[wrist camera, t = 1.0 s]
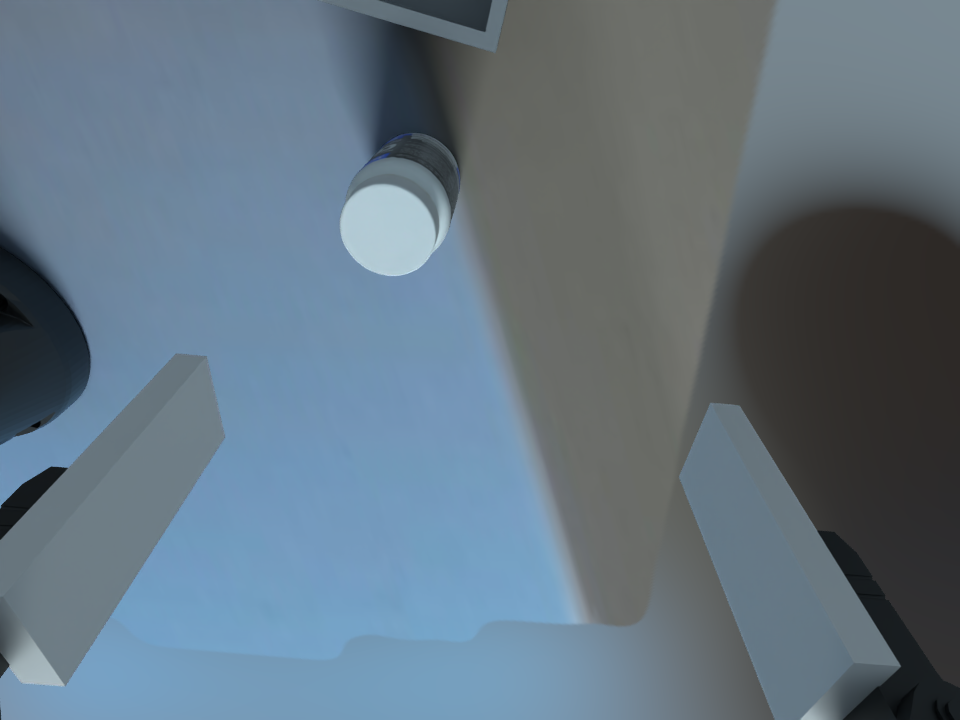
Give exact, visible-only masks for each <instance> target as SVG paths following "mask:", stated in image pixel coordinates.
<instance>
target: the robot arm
mask: <svg viewBox="0 0 960 720" xmlns="http://www.w3.org/2000/svg"><path fill="white" fill-rule="evenodd" d="M89 373H90V360H89V354H88V349H87V346H86V343H85V340H84V337H83V335H82V332H81V330H80V328H79V326H78V324H77V323H76V321H75V319H74V317H73V316H72V314H71V313H70V311H69V310H68V308H67V307H66V306H65V304H64V303H63V302H62V300H61V299H60V298H59V297H58V296H57V294H56V293H55V292H54V291H53V290H52V289H51V288H50V287H49V286H48V285H47V284H46V283H45V282H44V281H43V280H42V279H41V278H40V277H39V276H38V275H37V274H36V273H35V272H33V271H32V270H31V269H30V268H29V267H27V266H26V265H25V264H24V263H22V262H21V261H20V260H18V259H17V258H16V257H14V256H13V255H11V254H10V253H8V252H7V251H5V250H4V249H2V248H0V445H1V444H3V443H5V442H6V441H8V440H10V439H12V438H13V437H15V436H20V435H24V434H27V433H30V432H33V431H35V430H37V429H39V428H41V427H44V426H45V425H47V424H48V423H50V422H52V421H53V420H54V419H56V418H57V417H58V416H59V415H60V414H61V413H63V412H64V411H65V410H66V409H67V408H68V407H69V406H70V405H72V404H73V403H74V402H75V401H76V400H77V399H78V398H79V397H80V395H81V394H82V393H83V391H84V389H85V387H86V385H87V382H88V379H89ZM224 438H225V434H224V430H223V426H222V421H221V417H220V412H219V408H218V404H217V399H216V395H215V391H214V386H213V382H212V378H211V373H210V369H209V365H208V360H207V356H197V355H187V354H175V355H174V356H173V358H172V359H171V360H170V361H169V362H168V363H167V364H166V365H165V366H164V367H163V368H162V369H161V370H160V371H159V372H158V373H157V375H156V376H155V377H154V378H153V379H152V380H151V381H150V382H149V383H148V384H147V385H146V386H145V387H144V388H143V389H142V390H141V391H140V393H139V394H138V395H137V396H136V397H135V398H134V399H133V400H132V401H131V402H130V403H129V404H128V405H127V406H126V407H125V408H124V410H123V411H122V412H121V413H120V414H119V415H118V416H117V417H116V418H115V419H114V420H113V421H112V422H111V423H110V424H109V425H108V426H107V428H106V429H105V430H104V431H103V432H102V433H101V434H100V435H99V436H98V437H97V438H96V439H95V440H94V441H93V442H92V443H91V445H90V446H89V447H88V448H87V449H86V450H85V451H84V452H83V453H82V454H81V455H80V456H79V457H78V458H77V459H76V460H75V461H74V463H73V464H72V465H71V466H70V467H69V468H62V467H50V468H48V469H46V470H45V471H43V472H42V473H40V474H38V475H37V476H35V477H33V478H32V479H30V480H29V481H27V482H25V483H24V484H22V485H21V486H20V487H19V488H18V489H17V490H16V491H15V492H14V493H13V494H12V495H11V496H10V497H9V498H8V499H7V500H6V501H5V502H4V503H3V504H2V505H1V509H0V678H1V676H2V675H3V674H4V672H5V671H6V670H7V668H8V667H9V668H10V669H11V670H12V671H13V673H14V674H15V675H16V677H17V678H18V679H19V680H20V682H21V683H27V684H40V685H53V686H66V685H67V683H68V682H69V680H70V678H71V677H72V675H73V673H74V672H75V670H76V669H77V668H78V666H79V664H80V663H81V661H82V660H83V658H84V657H85V655H86V653H87V652H88V650H89V649H90V647H91V646H92V644H93V643H94V641H95V639H96V638H97V636H98V635H99V633H100V632H101V630H102V629H103V627H104V625H105V624H106V622H107V621H108V619H109V618H110V616H111V614H112V613H113V611H114V610H115V608H116V607H117V605H118V604H119V602H120V600H121V599H122V597H123V596H124V594H125V593H126V591H127V590H128V588H129V586H130V585H131V583H132V582H133V580H134V579H135V577H136V575H137V574H138V572H139V571H140V569H141V568H142V566H143V565H144V563H145V561H146V560H147V558H148V557H149V555H150V554H151V552H152V551H153V549H154V547H155V546H156V544H157V543H158V541H159V540H160V538H161V536H162V535H163V533H164V532H165V530H166V529H167V527H168V526H169V524H170V522H171V521H172V519H173V518H174V516H175V515H176V513H177V512H178V510H179V508H180V507H181V505H182V504H183V502H184V501H185V499H186V497H187V496H188V494H189V493H190V491H191V490H192V488H193V487H194V485H195V483H196V482H197V480H198V479H199V477H200V476H201V474H202V473H203V471H204V469H205V468H206V466H207V465H208V463H209V462H210V460H211V458H212V457H213V455H214V454H215V452H216V451H217V449H218V448H219V446H220V444H221V443H222V441H223V440H224ZM679 478H680V481H681V483H682V486H683V488H684V490H685V493H686V496H687V498H688V501H689V503H690V506H691V509H692V511H693V513H694V516H695V519H696V521H697V524H698V526H699V529H700V531H701V534H702V537H703V539H704V542H705V544H706V547H707V549H708V552H709V554H710V557H711V559H712V562H713V564H714V567H715V569H716V572H717V575H718V577H719V580H720V582H721V585H722V587H723V590H724V592H725V595H726V597H727V600H728V602H729V605H730V608H731V610H732V613H733V615H734V617H735V620H736V623H737V625H738V628H739V630H740V633H741V635H742V638H743V641H744V643H745V645H746V648H747V650H748V653H749V656H750V658H751V660H752V663H753V666H754V668H755V671H756V673H757V676H758V679H759V681H760V684H761V686H762V689H763V691H764V694H765V696H766V698H767V701H768V704H769V706H770V709H771V711H772V714H773V717H774V719H775V720H960V688H958V687H956V686H954V685H952V684H950V683H948V682H945V681H943V680H942V679H941V677H940V676H939V675H938V673H937V672H936V671H935V669H934V668H933V666H932V665H931V663H930V662H929V660H928V659H927V657H926V656H925V654H924V653H923V651H922V650H921V648H920V647H919V645H918V644H917V642H916V641H915V639H914V638H913V636H912V635H911V633H910V632H909V630H908V629H907V627H906V626H905V624H904V623H903V621H902V620H901V618H900V617H899V615H898V614H897V612H896V611H895V609H894V608H893V607H892V605H891V603H890V602H889V601H888V600H886V599H885V594H884V593H883V591H882V590H881V588H880V587H879V586H878V584H877V583H876V581H873V580H872V575H871V573H870V572H869V570H868V569H867V567H866V566H865V564H864V563H863V561H862V560H861V558H860V557H859V555H858V554H857V553H856V552H855V551H854V550H853V549H852V548H851V547H850V546H849V545H847V543H845V542H844V541H843V540H842V539H841V538H840V537H839V536H838V535H837V534H836V533H835V532H829V531H817V530H816V528H815V527H814V525H813V524H812V522H811V520H810V519H809V517H808V516H807V514H806V512H805V511H804V509H803V508H802V506H801V504H800V503H799V501H798V500H797V498H796V496H795V495H794V493H793V491H792V490H791V488H790V487H789V485H788V483H787V482H786V480H785V478H784V477H783V475H782V474H781V472H780V471H779V469H778V467H777V466H776V464H775V462H774V461H773V459H772V458H771V456H770V454H769V453H768V451H767V449H766V448H765V446H764V445H763V443H762V442H761V440H760V438H759V437H758V435H757V433H756V432H755V430H754V428H753V427H752V425H751V424H750V422H749V421H748V419H747V417H746V416H745V414H744V412H743V411H742V409H741V408H740V406H739V405H729V404H718V403H710V406H709V408H708V411H707V413H706V415H705V417H704V420H703V422H702V425H701V427H700V429H699V431H698V434H697V436H696V438H695V441H694V443H693V445H692V448H691V450H690V452H689V455H688V457H687V459H686V462H685V464H684V467H683V469H682V471H681V473H680V476H679ZM0 720H1V710H0Z"/></svg>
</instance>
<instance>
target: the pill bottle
mask: <svg viewBox="0 0 960 720" xmlns="http://www.w3.org/2000/svg"><path fill="white" fill-rule="evenodd" d="M459 189H460V174H459V169H458V166H457V163H456V160H455V159H454V157H453V155H452V154H451V152H450V151H449V150H448V149H447V148H446V147H445V146H444V145H443V144H442V143H441V142H439V141H438V140H436V139H435V138H433V137H431V136H428V135H425V134H421V133H406V134H402V135H399V136H396V137H394V138H393V139H391V140H389V141H388V142H387V143H385V144H384V145H383V146H382V147H381V148H380V150H379V151H378V152H377V153H376V154H375V155H374V156H373V157H372V158H371V160H370V161H369V162H368V163H367V164H366V165H365V166H364V167H363V168H362V169H361V170H360V171H359V172H358V173H357V175H356V176H355V177H354V179H353V180H352V182H351V184H350V186H349V189H348V192H347V195H346V202H345V204H344V206H343V209H342V212H341V216H340V232H341V237H342V240H343V243H344V245H345V247H346V249H347V250H348V252H349V253H350V254H351V255H352V257H353V258H354V259H355V260H356V261H357V262H358V263H359V264H361V265H362V266H363V267H365V268H367V269H368V270H370V271H372V272H375V273H378V274H382V275H388V276H398V275H404V274H408V273H410V272H413V271H415V270H416V269H418V268H419V267H421V266H422V265H423V264H424V263H425V262H426V261H427V260H428V258H429V257H430V256H431V254H432V253H433V252H434V251H435V250H436V249H437V248H438V247H439V246H440V244H441V243H442V242H443V240H444V238H445V237H446V234H447V232H448V230H449V227H450V223H451V219H452V216H453V213H454V209H455V206H456V202H457V199H458V194H459Z"/></svg>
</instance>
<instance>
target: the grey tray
mask: <svg viewBox="0 0 960 720" xmlns="http://www.w3.org/2000/svg"><path fill="white" fill-rule="evenodd" d="M318 1H322V2H325V3H328V4H332V5H335V6H338V7H342V8H345V9H349V10H352V11H355V12H359V13H362V14H366V15H369V16H372V17H376V18H379V19H382V20H386V21H389V22H393V23H396V24H399V25H403V26H406V27H409V28H413V29H416V30H420V31H423V32H426V33H430V34H433V35H436V36H440V37H443V38H447V39H450V40H453V41H457V42H460V43H463V44H467V45H470V46H474V47H477V48H480V49H484V50H487V51H490V52H494V53H496V50H497V46H498V42H499V38H500V33H501V29H502V25H503V20H504V16H505V12H506V8H507V3H508V0H318Z"/></svg>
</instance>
